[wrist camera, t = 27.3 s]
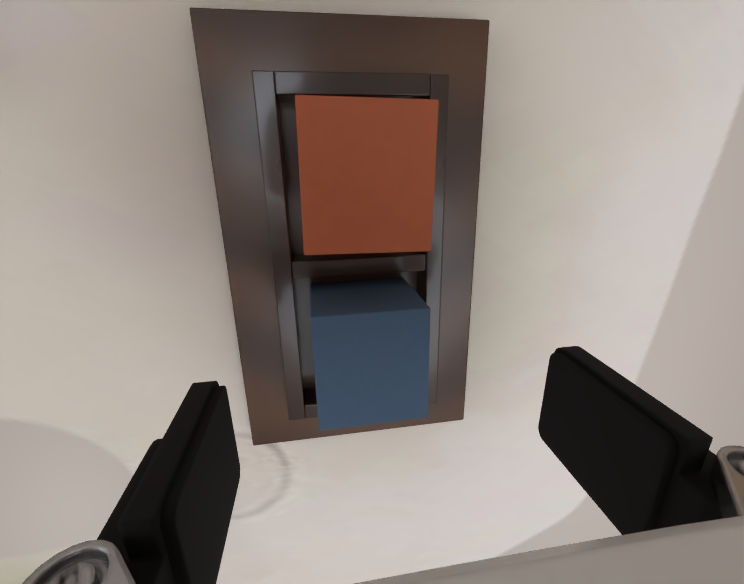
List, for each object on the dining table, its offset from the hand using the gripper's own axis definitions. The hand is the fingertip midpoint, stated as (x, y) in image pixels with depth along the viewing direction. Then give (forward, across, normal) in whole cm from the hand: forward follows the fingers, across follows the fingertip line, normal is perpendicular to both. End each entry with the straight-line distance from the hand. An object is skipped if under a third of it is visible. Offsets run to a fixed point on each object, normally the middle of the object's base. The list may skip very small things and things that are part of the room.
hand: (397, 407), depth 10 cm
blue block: (+8, 0, +1) cm, 9 cm away
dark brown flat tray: (+10, 0, -2) cm, 10 cm away
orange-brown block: (+9, 0, -6) cm, 11 cm away
